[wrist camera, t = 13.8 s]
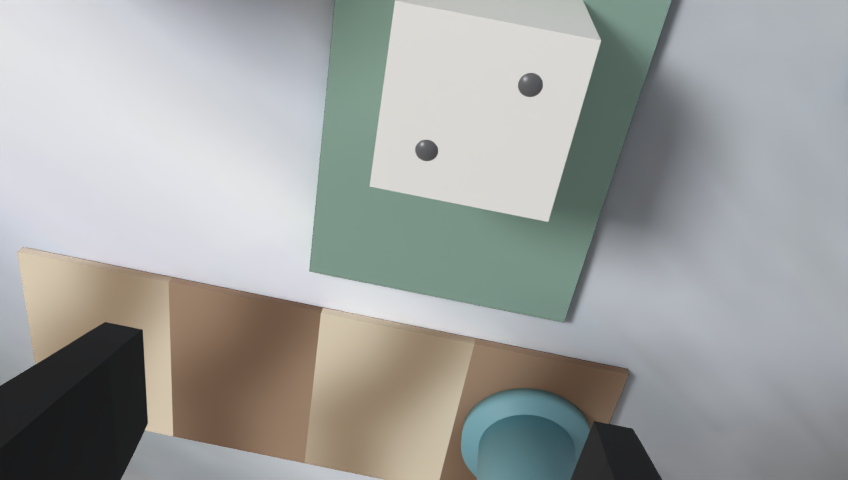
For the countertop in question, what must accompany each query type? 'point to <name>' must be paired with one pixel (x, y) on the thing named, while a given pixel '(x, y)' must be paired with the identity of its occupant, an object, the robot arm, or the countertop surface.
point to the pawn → (523, 436)
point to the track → (299, 370)
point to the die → (483, 101)
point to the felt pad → (458, 224)
